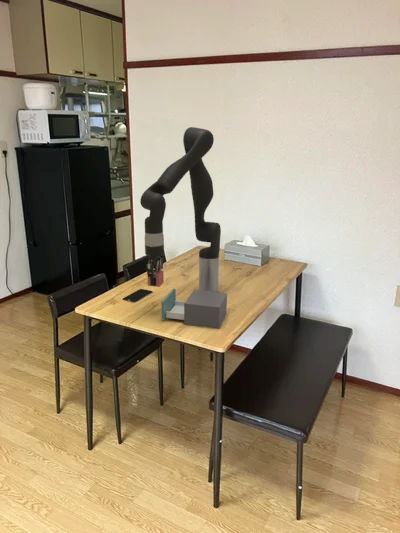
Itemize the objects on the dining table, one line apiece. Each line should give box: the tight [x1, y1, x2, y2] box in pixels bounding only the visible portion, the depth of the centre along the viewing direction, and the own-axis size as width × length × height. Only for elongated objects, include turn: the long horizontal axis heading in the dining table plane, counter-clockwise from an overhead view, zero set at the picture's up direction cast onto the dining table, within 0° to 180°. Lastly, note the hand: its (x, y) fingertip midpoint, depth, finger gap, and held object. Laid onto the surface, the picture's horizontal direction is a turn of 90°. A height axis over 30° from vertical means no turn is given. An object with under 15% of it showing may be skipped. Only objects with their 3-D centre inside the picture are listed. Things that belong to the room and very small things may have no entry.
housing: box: [183, 289, 228, 329], centre depth 174 cm, size 15×14×9 cm
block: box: [146, 270, 165, 288], centre depth 175 cm, size 5×5×5 cm
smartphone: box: [122, 288, 154, 304], centre depth 198 cm, size 8×1×15 cm
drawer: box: [160, 288, 186, 321], centre depth 176 cm, size 15×14×7 cm
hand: (155, 282), depth 176 cm, fingers closed on block, 5 cm apart
